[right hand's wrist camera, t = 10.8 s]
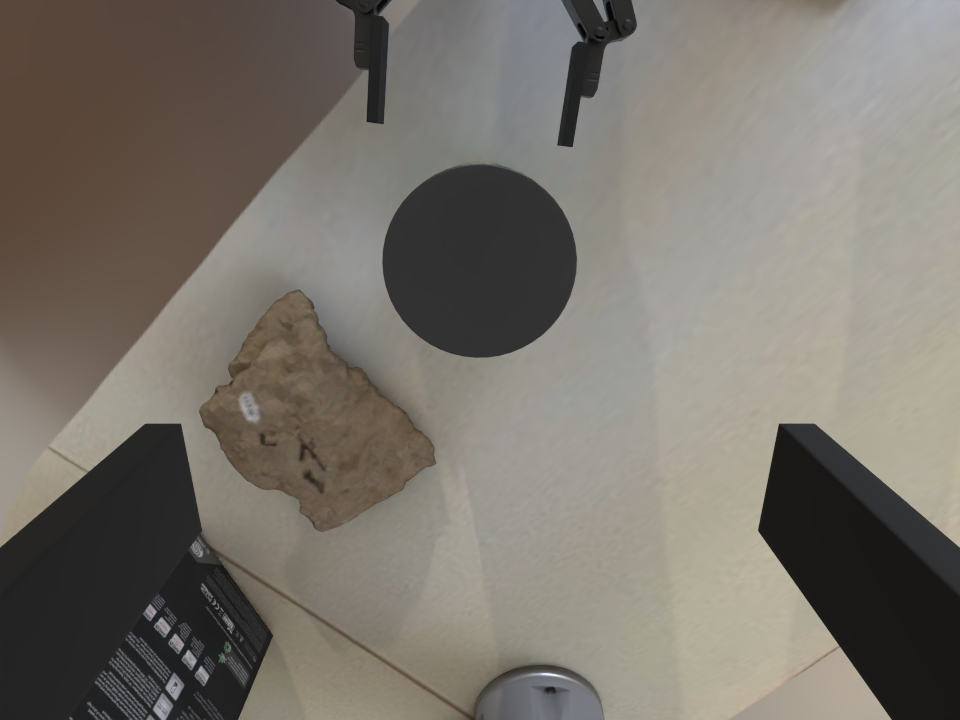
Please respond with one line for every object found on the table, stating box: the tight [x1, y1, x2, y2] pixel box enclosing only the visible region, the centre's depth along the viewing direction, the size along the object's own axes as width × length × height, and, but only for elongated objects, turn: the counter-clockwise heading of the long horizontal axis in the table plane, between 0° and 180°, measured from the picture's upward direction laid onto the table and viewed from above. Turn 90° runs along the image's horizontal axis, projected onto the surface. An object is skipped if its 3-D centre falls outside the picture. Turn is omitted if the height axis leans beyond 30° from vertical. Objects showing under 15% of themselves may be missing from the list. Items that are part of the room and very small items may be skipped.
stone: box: [199, 290, 436, 532], centre depth 55 cm, size 21×15×6 cm
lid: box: [383, 163, 577, 358], centre depth 35 cm, size 11×11×2 cm
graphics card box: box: [68, 534, 273, 720], centre depth 52 cm, size 17×7×27 cm, turn 25°
